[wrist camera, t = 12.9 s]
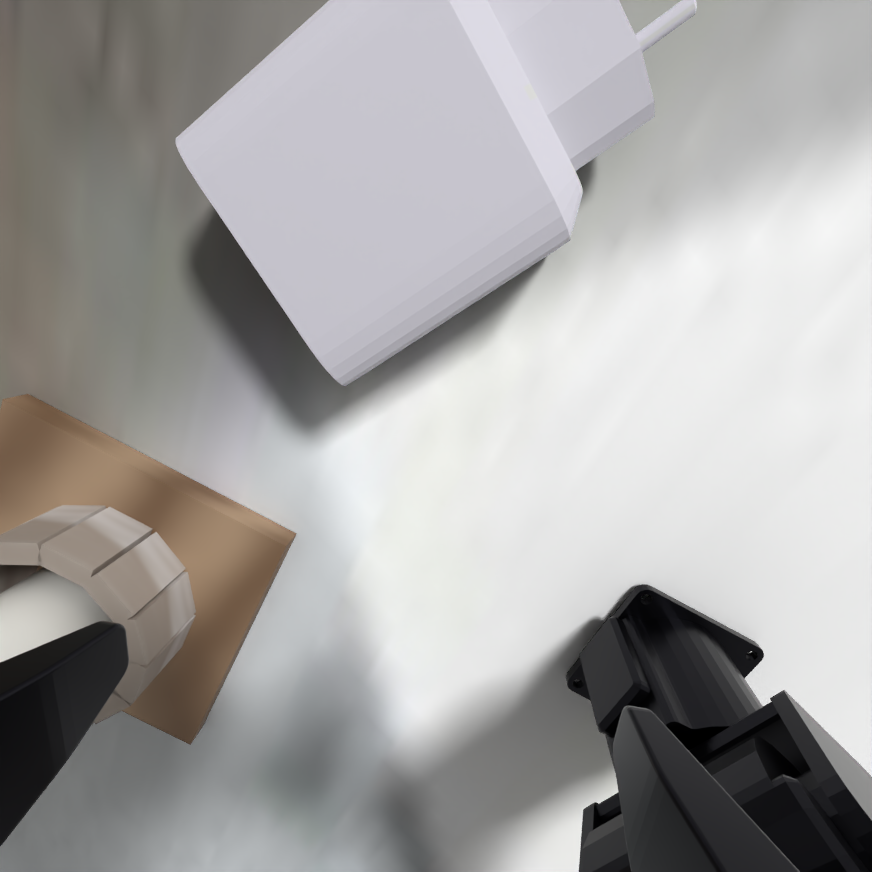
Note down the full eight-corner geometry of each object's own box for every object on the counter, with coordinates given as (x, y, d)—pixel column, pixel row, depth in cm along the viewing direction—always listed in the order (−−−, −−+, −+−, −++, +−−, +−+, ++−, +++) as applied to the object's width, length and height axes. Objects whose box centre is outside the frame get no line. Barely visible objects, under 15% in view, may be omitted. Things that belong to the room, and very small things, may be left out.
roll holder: (296, 533, 23) (249, 592, 18) (203, 725, 27) (145, 811, 22) (28, 394, 22) (-90, 418, 18) (-26, 612, 26) (-131, 677, 22)
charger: (711, 149, 17) (370, 370, 20) (587, -122, 15) (239, 171, 19) (793, 95, 12) (336, 391, 16) (630, -300, 11) (159, 131, 14)
